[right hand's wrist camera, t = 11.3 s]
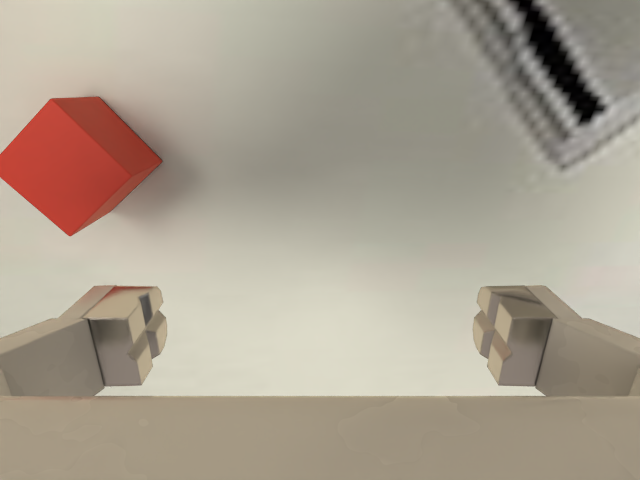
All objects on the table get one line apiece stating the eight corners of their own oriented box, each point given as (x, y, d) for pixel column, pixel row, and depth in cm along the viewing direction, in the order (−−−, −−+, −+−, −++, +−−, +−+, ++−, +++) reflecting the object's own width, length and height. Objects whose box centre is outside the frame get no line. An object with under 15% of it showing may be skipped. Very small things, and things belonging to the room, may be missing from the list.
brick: (98, 96, 21) (50, 97, 17) (163, 161, 22) (132, 176, 18) (44, 153, 22) (-13, 167, 18) (109, 212, 23) (69, 237, 19)
